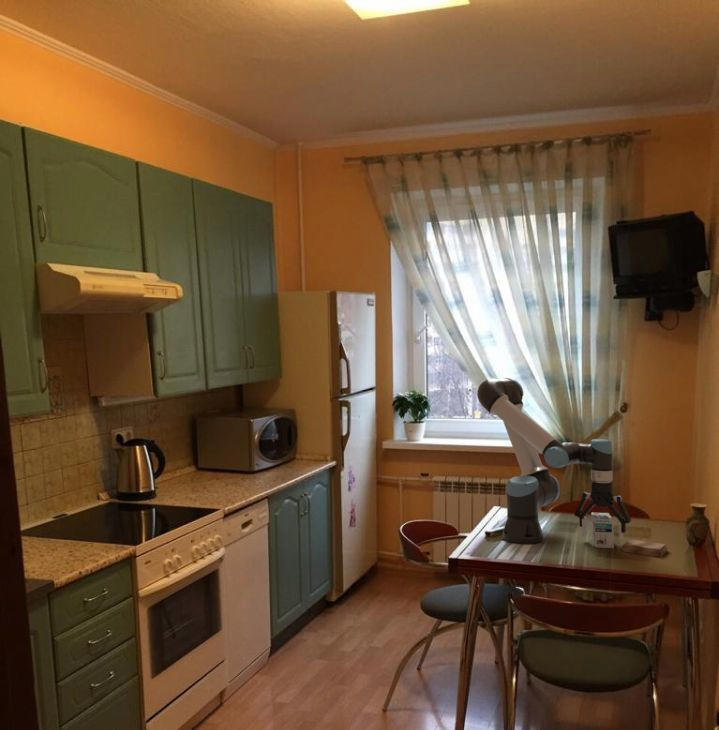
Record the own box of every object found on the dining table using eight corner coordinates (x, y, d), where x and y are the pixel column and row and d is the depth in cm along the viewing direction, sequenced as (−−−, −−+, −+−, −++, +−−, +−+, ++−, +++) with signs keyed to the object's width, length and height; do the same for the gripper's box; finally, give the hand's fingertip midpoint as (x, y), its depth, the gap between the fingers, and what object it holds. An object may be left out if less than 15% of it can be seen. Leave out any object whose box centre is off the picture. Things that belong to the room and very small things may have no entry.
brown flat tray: (622, 551, 237) (622, 544, 237) (629, 545, 244) (629, 538, 244) (661, 557, 229) (661, 550, 229) (667, 551, 236) (667, 544, 236)
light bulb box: (614, 548, 240) (614, 519, 240) (595, 548, 241) (594, 518, 241) (609, 540, 251) (609, 512, 250) (590, 540, 252) (590, 511, 252)
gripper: (565, 479, 250) (566, 535, 251) (633, 486, 235) (634, 546, 235) (572, 476, 256) (572, 531, 256) (639, 483, 241) (640, 541, 241)
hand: (602, 538), depth 246 cm, fingers open, 13 cm apart
